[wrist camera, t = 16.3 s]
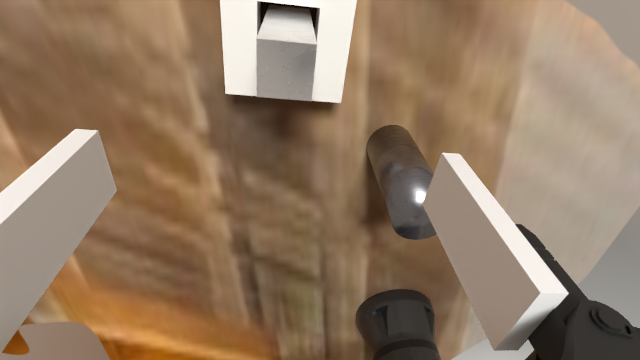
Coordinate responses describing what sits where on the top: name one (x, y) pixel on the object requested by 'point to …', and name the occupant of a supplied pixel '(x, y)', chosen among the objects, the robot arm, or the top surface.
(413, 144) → the round peg
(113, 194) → the robot arm
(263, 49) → the square peg
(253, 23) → the socket block
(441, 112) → the top surface
